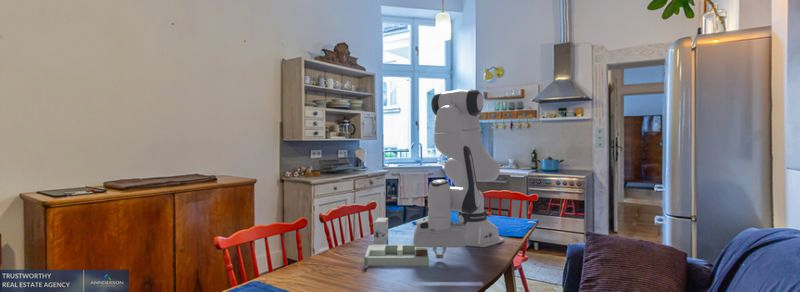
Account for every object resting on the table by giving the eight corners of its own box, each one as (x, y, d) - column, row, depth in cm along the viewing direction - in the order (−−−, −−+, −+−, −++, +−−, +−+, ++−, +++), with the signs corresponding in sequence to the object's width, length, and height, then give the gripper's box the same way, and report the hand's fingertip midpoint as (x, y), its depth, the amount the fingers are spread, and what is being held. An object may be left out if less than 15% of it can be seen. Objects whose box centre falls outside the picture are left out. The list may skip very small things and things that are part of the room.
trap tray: (427, 254, 160) (426, 244, 160) (428, 268, 144) (428, 257, 144) (369, 253, 161) (369, 244, 161) (364, 268, 145) (364, 257, 144)
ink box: (378, 242, 178) (378, 217, 177) (389, 243, 177) (388, 217, 176) (373, 248, 169) (373, 221, 169) (384, 248, 168) (384, 221, 168)
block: (427, 259, 151) (427, 247, 151) (427, 263, 146) (427, 251, 146) (415, 259, 151) (415, 247, 151) (415, 263, 147) (415, 251, 146)
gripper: (465, 220, 151) (465, 255, 151) (413, 220, 151) (413, 255, 152) (467, 224, 144) (467, 261, 145) (413, 224, 145) (413, 260, 146)
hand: (439, 258), depth 148 cm, fingers closed
